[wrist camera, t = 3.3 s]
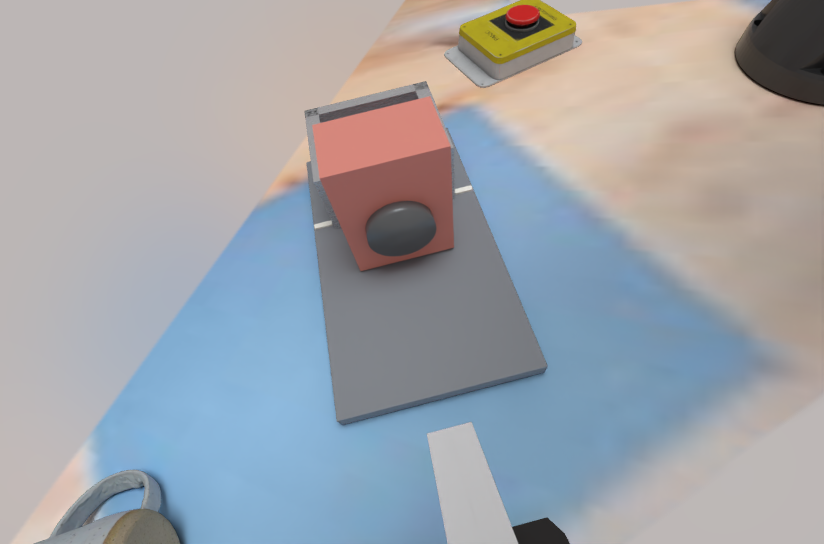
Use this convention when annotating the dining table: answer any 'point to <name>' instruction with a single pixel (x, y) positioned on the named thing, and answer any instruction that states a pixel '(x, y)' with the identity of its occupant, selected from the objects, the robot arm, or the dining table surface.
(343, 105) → the grey box holder bracket
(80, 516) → the ceramic mug
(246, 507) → the dining table surface
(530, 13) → the emergency button
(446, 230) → the pink box with dome
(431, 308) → the stand board
